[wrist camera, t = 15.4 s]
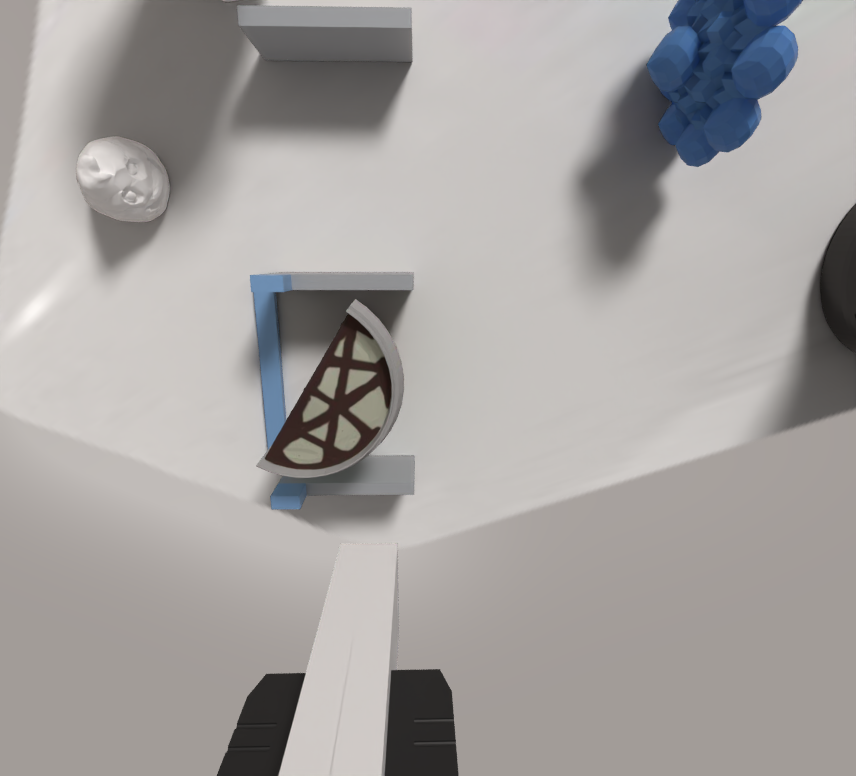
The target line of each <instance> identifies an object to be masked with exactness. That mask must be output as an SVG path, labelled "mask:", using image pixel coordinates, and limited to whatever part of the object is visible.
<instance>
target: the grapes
mask: <svg viewBox="0 0 856 776" xmlns="http://www.w3.org/2000/svg"><path fill="white" fill-rule="evenodd" d="M802 1H803V0H678V2H677V3H676V5H675V7H674V8H673V10H672V12H671V14H670V16H669V17H668V19H669V23H670V27H671V29H672V31H671V32H669V33H668V34H667V35H666V36H665V37H664V38H663V40H662V41H661V42H660V44H659V45H658V46H657V48H656V49H655V51H654V53H653V54H652V56H651V58H650V59H649V61H648V63H647V68H648V71H649V74H650V76H651V78H652V80H653V82H654V84H655V85H656V86H657V87H659V89H660V91H661V93H662V94H663V95H664V96H665V97H666V98H667V99H668V100H671V102H672V104H671V105H670V106H669V107H668V109H667V110H666V112H665V113H664V115H663V117H662V118H661V120H660V122H659V124H658V125H659V128H660V131H661V133H662V135H663V137H664V139H665V140H666V141H667V142H668V143H669V144H671V145H676V149H677V151H678V153H679V156H680V158H681V159H682V160H683V161H684V162H685V163H686V164H687V165H689V166H696V167H699V166H701V165H703V164H706V163H708V162H709V161H710V160H712V159H713V158H714V157H715V156H716V155H717V154H718V153H719V151H721V152H730V151H732V150H734V149H736V148H739V147H740V146H741V145H742V144H744V143H745V142H746V141H747V140H748V139H749V138H750V137H751V135H752V134H753V132H754V131H755V129H756V128H757V126H758V125H759V123H760V120H761V109H760V106H759V104H758V101H757V100H758V99H760V98H762V97H764V96H766V95H768V94H770V93H772V92H773V91H774V90H775V89H776V88H777V87H778V86H779V85H780V84H781V83H782V82H783V81H784V80H785V79H786V77H787V76H788V74H789V73H790V71H791V70H792V68H793V67H794V65H795V63H796V60H797V57H798V46H797V42H796V38H795V35H794V34H793V33H792V32H791V31H790V30H789V29H788V28H787V27H786V26H776V25H778V24H779V23H781V22H783V21H784V20H786V19H787V18H788V17H789V16H790V15H791V14H792V13H793V12H794V10H795V9H796V8H797V7H798V6H799V5H800V4H801V3H802Z"/></svg>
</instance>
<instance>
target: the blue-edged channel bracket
mask: <svg viewBox="0 0 856 776" xmlns="http://www.w3.org/2000/svg"><path fill="white" fill-rule="evenodd" d="M237 14H238V25H239V27H240V28H241V30H242V31H243V32H244V33H245V35H246V36H247V37H248V39H249V40H250V41H251V43H252V44H253V45H254V46H255V48H256V49H257V50H258V52H259V53H260V54H261V56H262V57H263V58H264V59H265V60H289V61H376V62H412V11H411V8H393V7H321V6H249V5H237ZM250 282H251V292H254V301H255V312H256V323H257V334H258V345H259V356H260V367H261V378H262V389H263V400H264V411H265V421H266V432H267V443H268V449H269V448H270V447H271V445H272V444H273V442H274V441H275V439H276V437H277V435H278V434H279V432H280V430H281V429H282V427H283V425H284V423H285V422H286V411H285V398H284V385H283V373H282V360H281V348H280V335H279V322H278V310H277V297H276V292H286V291H290V290H413V287H414V272H279V273H269V274H259V275H250ZM414 471H415V456H367V457H366V458H364V459H363V460H361V461H360V462H358V463H357V464H355V465H354V466H351V467H349V468H347V469H345V470H343V471H340V472H337V473H333V474H330V475H325V476H319V477H312V478H295V477H288V476H283V477H282V478H281V480H280V482H279V483H278V485H277V487H276V488H275V490H274V491H273V493H272V495H271V496H270V498H271V508H272V509H301V506H302V504H303V502H304V500H305V498H306V496H307V495H414Z"/></svg>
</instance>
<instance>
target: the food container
mask: <svg viewBox="0 0 856 776" xmlns="http://www.w3.org/2000/svg"><path fill="white" fill-rule="evenodd" d="M346 312H347V313H349V314H348V315H347V316H346V318H345V320H344V321H343V323H342V324H341V327H340V329H339V331H338V333H337V334H336V336H335V338H334V339H333V341H332V343H331V345H330V346H329V348H328V350H327V351H326V353H325V355H324V357H323V358H322V360H321V362H320V364H319V365H318V367H317V368H316V371H315V372H314V374H313V376H312V377H311V379H310V381H309V382H308V384H307V386H306V387H305V388H304V391H303V393H302V394H301V396H300V398H299V400H298V401H297V403H296V405H295V407H294V408H293V410H292V411H291V413H290V415H289V417H288V418H287V420H286V422H285V423H284V425H283V427H282V429H281V430H280V432H279V434H278V435H277V437H276V439H275V441H274V442H273V444H272V445H271V447H270V448H269V449H268V451H267V452H266V453H265V455H264V456H263V457H262V459H261V460H260V461H259V463H258V464H257V467H259V468H261V469H264V470H266V471H268V472H272V473H275V474H279V475H282V476H288V477H295V478H312V477H319V476H325V475H330V474H333V473H337V472H340V471H343V470H345V469H347V468H349V467H351V466H354V465H355V464H357V463H358V462H360V461H361V460H363V459H364V458H366V457H367V456H368V455H369V454H370V453H371V452H372V451H373V450H374V449H375V448H376V447H377V446H378V445H379V444H380V443H381V442H382V441H383V440H384V439H385V437H386V436H387V435H388V433H389V432H390V431H391V429H392V427H393V425H394V423H395V421H396V419H397V417H398V414H399V411H400V408H401V405H402V399H403V392H404V374H403V368H402V363H401V359H400V356H399V353H398V350H397V347H396V345H395V343H394V341H393V339H392V337H391V335H390V334H389V332H388V330H387V329H386V328H385V326H384V325H383V324H382V322H381V321H380V320H379V319H378V318H377V317H376V316H375V315H374V314H373V313H372V312H371V311H370V310H369V309H368V308H367V307H366V306H364V305H363V304H361V303H360V302H359V301H357V300H356V299H355V300H354V302H353V303H352V304H351V305H350V307H349V308H348V309H347V310H346Z"/></svg>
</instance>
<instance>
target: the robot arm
mask: <svg viewBox="0 0 856 776" xmlns="http://www.w3.org/2000/svg"><path fill="white" fill-rule="evenodd" d="M821 299H822V306H823V310H824V314H825V317H826V319H827V322H828V324H829V326H830V328H831V329H832V331H833V333H834V334H835V335H836V337H837V338H838V339H839V340H840V341H841V342H842V343H843V344H844V345H845V346H846V347H847V348H849V349H850V350H851V351H853V352H855V353H856V205H855V206H854V207H853V208H852V209H851V211H850V212H849V213H848V214H847V216H846V217H845V219H844V220H843V222H842V223H841V225H840V226H839V228H838V230H837V231H836V233H835V235H834V237H833V239H832V241H831V244H830V246H829V249H828V251H827V254H826V257H825V261H824V265H823V270H822V277H821ZM398 605H399V604H398V543H379V544H340V548H339V552H338V555H337V559H336V563H335V567H334V571H333V575H332V578H331V582H330V586H329V589H328V593H327V597H326V601H325V604H324V608H323V611H322V615H321V619H320V623H319V627H318V630H317V634H316V638H315V641H314V645H313V649H312V653H311V657H310V660H309V664H308V667H307V671H306V673H292V674H290V673H289V674H266V675H265V676H264V678H263V679H262V680H261V681H260V682H259V683H258V685H257V686H256V687H255V688H254V690H253V691H252V692H251V693H250V694H249V695H248V697H247V699H246V702H245V704H244V707H243V709H242V712H241V715H240V717H239V720H238V723H237V728H236V729H235V730H234V733H233V735H232V738H231V741H230V743H229V745H228V751H227V753H226V754H225V756H224V758H223V761H222V764H221V766H220V769H219V771H218V774H217V776H458V764H457V752H456V740H455V727H454V714H453V704H452V703H453V702H452V691H451V689H450V687H449V686H448V684H447V682H446V680H445V678H444V676H443V674H442V673H441V671H440V669H439V670H438V669H435V670H434V669H433V670H397V658H398V637H399V606H398Z"/></svg>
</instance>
